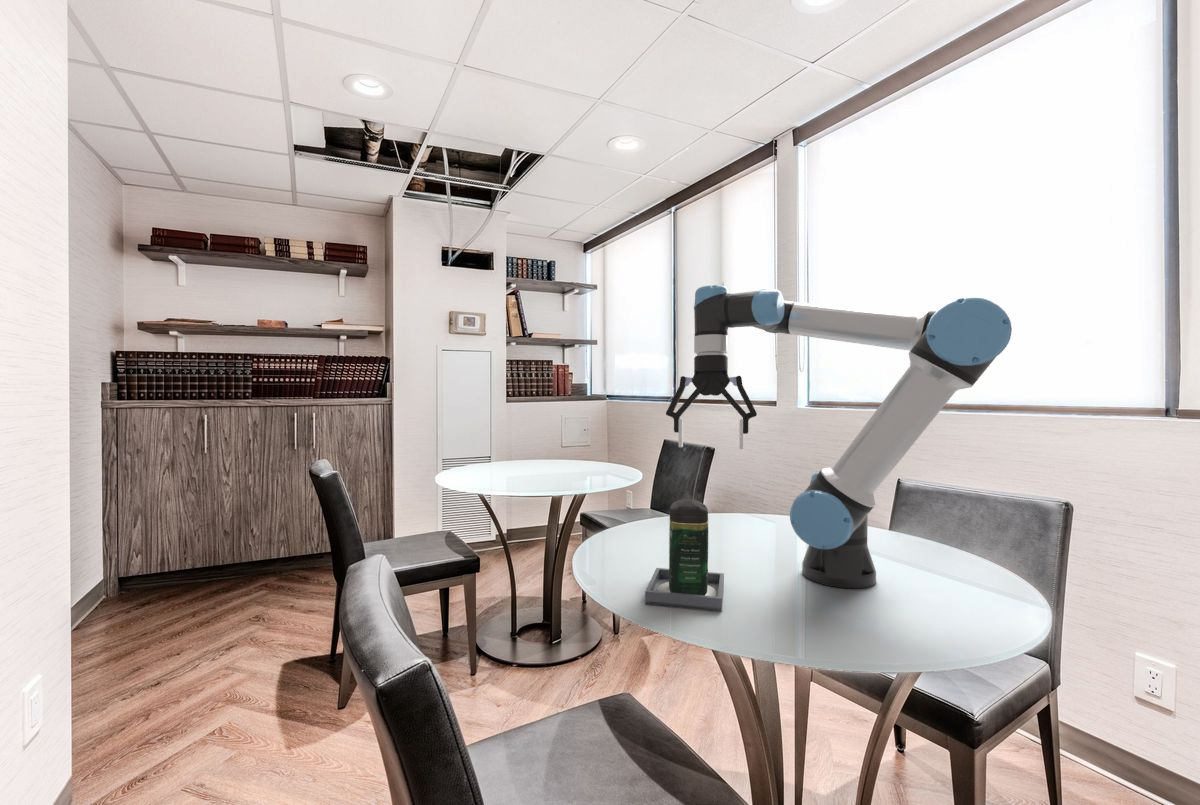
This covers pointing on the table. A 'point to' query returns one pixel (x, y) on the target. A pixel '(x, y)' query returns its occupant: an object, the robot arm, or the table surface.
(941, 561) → the table surface
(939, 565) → the table surface
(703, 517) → the coffee jar
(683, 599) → the cradle tray
